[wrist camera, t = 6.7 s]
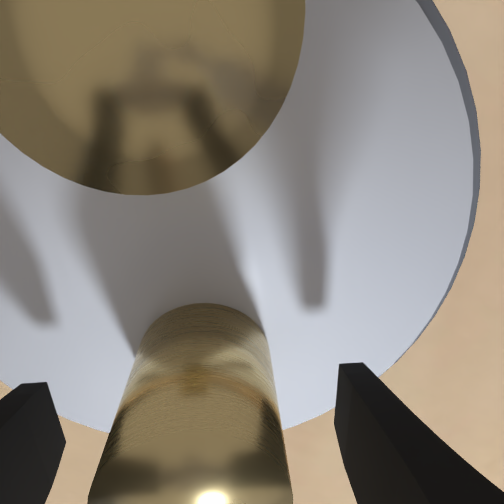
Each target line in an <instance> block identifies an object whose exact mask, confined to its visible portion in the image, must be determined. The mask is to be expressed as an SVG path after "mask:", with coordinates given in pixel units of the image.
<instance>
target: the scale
mask: <svg viewBox="0 0 504 504" xmlns="http://www.w3.org/2000/svg"><path fill="white" fill-rule="evenodd" d="M305 10H306V11H305V23H304V36H303V42H302V47H301V52H300V57H299V62H298V66H297V69H296V72H295V75H294V78H293V82H292V85H291V88H290V90H289V92H288V94H287V96H286V98H285V101H284V103H283V105H282V107H281V109H280V111H279V112H278V114H277V116H276V117H275V119H274V121H273V122H272V124H271V126H270V127H269V129H268V130H267V131H266V132H265V134H264V135H263V136H262V137H261V139H260V140H259V141H258V142H257V143H256V145H255V146H254V147H253V148H252V149H251V150H250V151H248V152H247V153H246V154H245V155H244V156H243V157H242V158H241V159H240V160H239V161H237V162H236V163H235V164H233V165H232V166H231V167H229V168H228V169H227V170H225V171H224V172H222V173H220V174H218V175H217V176H215V177H213V178H211V179H209V180H207V181H206V182H203V183H200V184H198V185H195V186H193V187H190V188H187V189H183V190H179V191H175V192H171V193H165V194H156V195H124V194H117V193H110V192H104V191H101V190H97V189H93V188H90V187H86V186H83V185H81V184H78V183H75V182H73V181H70V180H68V179H65V178H63V177H61V176H59V175H58V174H56V173H54V172H52V171H50V170H48V169H46V168H44V167H43V166H41V165H40V164H38V163H37V162H35V161H34V160H32V159H31V158H29V157H28V156H26V155H25V154H24V153H22V152H21V151H20V150H19V149H18V148H16V147H15V146H14V145H13V144H12V143H10V142H9V141H8V140H7V139H6V138H5V137H3V136H2V135H1V134H0V380H1V381H2V382H3V383H5V384H6V385H7V386H9V387H10V388H11V389H15V388H16V387H17V386H19V385H20V384H21V383H37V382H47V384H48V387H49V390H50V393H51V396H52V399H53V403H54V406H55V409H56V412H57V414H58V415H60V416H62V417H64V418H66V419H69V420H71V421H74V422H77V423H80V424H82V425H85V426H88V427H91V428H93V429H96V430H99V431H103V432H107V433H110V430H111V427H112V424H113V422H114V419H115V416H116V413H117V410H118V407H119V404H120V401H121V398H122V395H123V393H124V390H125V387H126V384H127V381H128V378H129V375H130V372H131V369H132V366H133V363H134V361H135V358H136V355H137V352H138V349H139V346H140V343H141V340H142V338H143V336H144V334H145V332H146V331H147V329H148V328H149V326H150V325H151V324H152V323H153V322H154V321H155V320H157V319H158V318H159V317H160V316H162V315H163V314H165V313H167V312H168V311H170V310H173V309H175V308H177V307H181V306H184V305H189V304H194V303H214V304H220V305H224V306H228V307H231V308H233V309H236V310H238V311H240V312H242V313H244V314H245V315H247V316H248V317H249V318H251V319H252V320H253V321H254V322H255V323H256V324H257V325H258V326H259V327H260V329H261V330H262V331H263V333H264V335H265V337H266V339H267V342H268V345H269V350H270V356H271V362H272V368H273V375H274V381H275V387H276V393H277V400H278V406H279V412H280V418H281V425H282V430H284V429H287V428H290V427H293V426H296V425H298V424H301V423H303V422H305V421H308V420H310V419H312V418H315V417H317V416H319V415H322V414H323V413H325V412H327V411H329V410H331V409H332V408H334V407H335V405H336V393H337V381H338V369H339V364H342V363H358V362H363V363H364V364H365V365H366V366H367V367H368V368H369V369H370V370H371V371H372V372H373V373H374V374H375V375H376V376H377V377H379V376H381V375H382V374H383V373H384V372H385V371H386V370H388V369H389V368H390V367H391V366H392V365H393V364H395V363H396V362H397V361H398V360H399V359H400V357H401V356H402V355H403V354H404V353H405V352H406V351H407V350H408V349H409V348H410V347H411V346H412V345H413V344H414V342H415V341H416V340H417V339H418V338H419V336H420V335H421V334H422V332H423V331H424V330H425V328H426V327H427V326H428V324H429V323H430V322H431V320H432V319H433V318H434V316H435V315H436V313H437V311H438V310H439V308H440V306H441V304H442V303H443V301H444V299H445V298H446V296H447V294H448V292H449V291H450V289H451V287H452V285H453V282H454V280H455V278H456V275H457V273H458V271H459V268H460V266H461V264H462V261H463V259H464V257H465V253H466V250H467V247H468V243H469V240H470V236H471V233H472V229H473V226H474V221H475V215H476V209H477V202H478V196H479V189H480V157H481V149H480V139H479V130H478V121H477V112H476V107H475V103H474V99H473V95H472V92H471V88H470V84H469V80H468V76H467V72H466V69H465V66H464V64H463V61H462V59H461V56H460V54H459V52H458V49H457V47H456V44H455V42H454V39H453V37H452V34H451V32H450V30H449V28H448V26H447V25H446V23H445V21H444V19H443V18H442V16H441V14H440V13H439V11H438V9H437V8H436V6H435V4H434V2H433V1H432V0H305Z"/></svg>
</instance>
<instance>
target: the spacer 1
mask: <svg viewBox="0 0 504 504" xmlns="http://www.w3.org/2000/svg"><path fill="white" fill-rule="evenodd" d="M305 11H306V10H305V0H0V134H1V135H2V136H3V137H5V138H6V139H7V140H8V141H9V142H10V143H12V144H13V145H14V146H15V147H16V148H18V149H19V150H20V151H21V152H22V153H24V154H25V155H26V156H28V157H29V158H31V159H32V160H34V161H35V162H37V163H38V164H40V165H41V166H43V167H44V168H46V169H48V170H50V171H52V172H54V173H56V174H58V175H59V176H61V177H63V178H65V179H68V180H70V181H73V182H75V183H78V184H81V185H83V186H86V187H90V188H93V189H97V190H101V191H104V192H110V193H117V194H124V195H156V194H165V193H171V192H175V191H179V190H183V189H187V188H190V187H193V186H195V185H198V184H200V183H203V182H206V181H207V180H209V179H211V178H213V177H215V176H217V175H218V174H220V173H222V172H224V171H225V170H227V169H228V168H229V167H231V166H232V165H233V164H235V163H236V162H237V161H239V160H240V159H241V158H242V157H243V156H244V155H245V154H246V153H247V152H248V151H250V150H251V149H252V148H253V147H254V146H255V145H256V143H257V142H258V141H259V140H260V139H261V137H262V136H263V135H264V134H265V132H266V131H267V130H268V129H269V127H270V126H271V124H272V122H273V121H274V119H275V117H276V116H277V114H278V112H279V111H280V109H281V107H282V105H283V103H284V101H285V98H286V96H287V94H288V92H289V90H290V88H291V85H292V82H293V78H294V75H295V72H296V69H297V66H298V62H299V57H300V52H301V47H302V42H303V36H304V23H305Z"/></svg>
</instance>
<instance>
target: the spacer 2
mask: <svg viewBox="0 0 504 504" xmlns="http://www.w3.org/2000/svg"><path fill="white" fill-rule="evenodd" d="M88 504H293V494H292V487H291V481H290V475H289V469H288V462H287V456H286V450H285V444H284V437H283V431H282V425H281V418H280V412H279V406H278V400H277V393H276V387H275V381H274V375H273V368H272V362H271V356H270V350H269V345H268V342H267V339H266V337H265V335H264V333H263V331H262V330H261V329H260V327H259V326H258V325H257V324H256V323H255V322H254V321H253V320H252V319H251V318H249V317H248V316H247V315H245V314H244V313H242V312H240V311H238V310H236V309H233V308H231V307H228V306H224V305H220V304H214V303H194V304H189V305H184V306H181V307H177V308H175V309H173V310H170V311H168V312H167V313H165V314H163V315H162V316H160V317H159V318H158V319H157V320H155V321H154V322H153V323H152V324H151V325H150V326H149V328H148V329H147V331H146V332H145V334H144V336H143V338H142V340H141V343H140V346H139V349H138V352H137V355H136V358H135V361H134V363H133V366H132V369H131V372H130V375H129V378H128V381H127V384H126V387H125V390H124V393H123V395H122V398H121V401H120V404H119V407H118V410H117V413H116V416H115V419H114V422H113V424H112V427H111V430H110V433H109V436H108V439H107V442H106V445H105V448H104V451H103V453H102V456H101V459H100V462H99V465H98V468H97V471H96V474H95V477H94V480H93V482H92V485H91V488H90V492H89V495H88Z"/></svg>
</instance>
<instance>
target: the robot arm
mask: <svg viewBox="0 0 504 504" xmlns="http://www.w3.org/2000/svg"><path fill="white" fill-rule="evenodd" d="M334 426H335V430H336V434H337V439H338V443H339V447H340V451H341V455H342V459H343V463H344V467H345V470H346V472H347V475H348V478H349V481H350V484H351V487H352V490H353V492H354V495H355V498H356V501H357V504H504V492H503V491H502V490H500V489H499V488H498V487H497V486H495V485H494V484H493V483H491V482H490V481H489V480H488V479H487V478H485V477H484V476H483V475H482V474H480V473H479V472H478V471H477V470H476V469H474V468H473V467H472V466H471V465H470V464H469V463H467V462H466V461H465V460H464V459H463V458H462V457H461V456H459V455H458V454H457V453H456V452H455V451H454V450H453V449H451V448H450V447H449V446H448V445H447V444H446V443H445V442H444V441H443V440H441V439H440V438H439V437H438V436H437V435H436V434H435V433H434V432H433V431H432V430H431V429H430V428H429V427H428V426H426V425H425V424H424V423H423V422H422V421H421V420H420V419H419V418H418V417H417V416H416V415H415V414H414V413H413V412H412V411H411V410H410V409H409V408H408V407H407V406H406V405H405V404H404V403H403V402H402V401H401V400H400V399H399V398H398V397H397V396H396V395H395V394H394V393H393V392H392V391H391V390H390V389H389V388H388V387H387V386H386V385H385V384H384V383H383V382H382V381H381V380H380V379H379V378H378V377H377V376H376V375H375V374H374V373H373V372H372V371H371V370H370V369H369V368H368V367H367V366H366V365H365V364H364V363H363V362H358V363H342V364H339V369H338V381H337V393H336V405H335V417H334ZM65 444H66V440H65V437H64V434H63V431H62V428H61V425H60V421H59V418H58V415H57V412H56V409H55V406H54V403H53V399H52V396H51V393H50V390H49V387H48V384H47V382H37V383H21V384H20V385H19V386H17V387H16V388H15V389H13V390H12V391H11V392H10V393H8V394H7V395H6V396H4V397H3V398H2V399H1V400H0V504H45V502H46V499H47V497H48V495H49V492H50V490H51V488H52V485H53V482H54V479H55V476H56V473H57V470H58V467H59V464H60V460H61V457H62V454H63V451H64V447H65Z"/></svg>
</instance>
